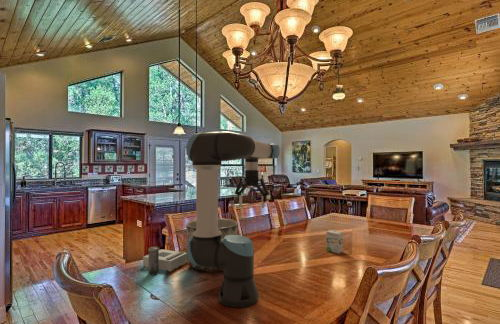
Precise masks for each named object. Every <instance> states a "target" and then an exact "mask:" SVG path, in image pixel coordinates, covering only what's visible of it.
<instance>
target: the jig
mask: <svg viewBox="0 0 500 324" xmlns="http://www.w3.org/2000/svg"><path fill="white" fill-rule="evenodd" d="M187 263H188V257H187V252H184V251H177V250H169V249H159V269H162V270H161V271H165V270H168V271H167V272H173V271H174V270H176V269H178V268H179V266H180V267H181V265H182V266H184V265H185V264H187ZM143 266H145V267H144V268H148V267H149V254H146V255H144V256H143V257H142V267H143ZM175 268H176V269H175ZM173 269H174V270H173Z"/></svg>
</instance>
